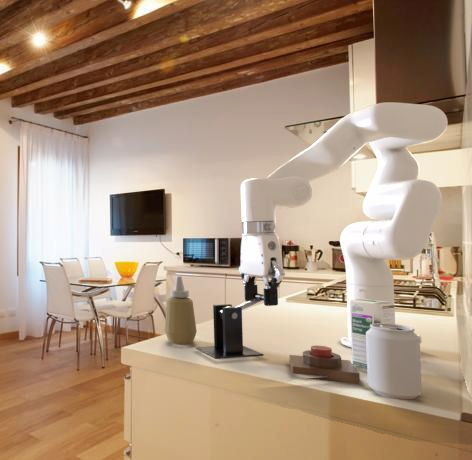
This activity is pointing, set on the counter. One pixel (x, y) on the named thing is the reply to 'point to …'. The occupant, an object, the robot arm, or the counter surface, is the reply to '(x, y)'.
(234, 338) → the bracket
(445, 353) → the counter surface
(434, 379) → the counter surface
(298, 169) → the robot arm
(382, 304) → the syrup box
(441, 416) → the counter surface
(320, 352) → the button
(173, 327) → the squeeze bottle
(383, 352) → the can
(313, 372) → the button block
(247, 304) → the lever
